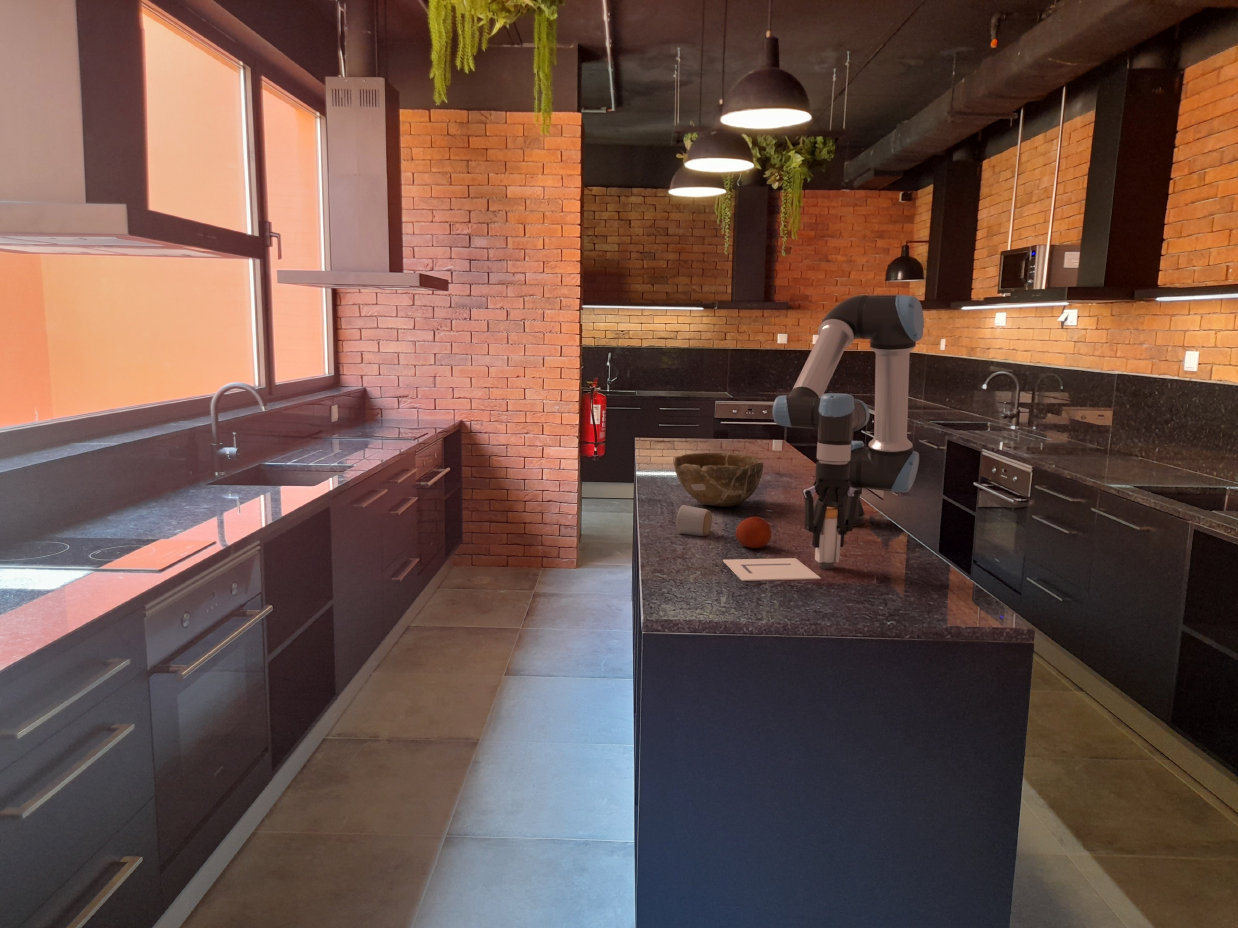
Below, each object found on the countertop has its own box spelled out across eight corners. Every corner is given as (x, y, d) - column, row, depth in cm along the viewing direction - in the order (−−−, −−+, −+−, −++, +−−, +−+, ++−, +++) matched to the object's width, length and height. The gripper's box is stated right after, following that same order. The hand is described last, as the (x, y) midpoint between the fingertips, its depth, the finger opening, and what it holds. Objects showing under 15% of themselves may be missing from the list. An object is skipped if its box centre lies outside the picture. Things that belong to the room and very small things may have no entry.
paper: (795, 559, 203) (795, 557, 203) (820, 579, 187) (820, 577, 187) (722, 560, 200) (722, 559, 200) (742, 580, 185) (742, 579, 185)
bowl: (699, 518, 244) (701, 467, 242) (658, 500, 269) (659, 453, 266) (779, 512, 255) (782, 463, 253) (733, 495, 280) (735, 450, 277)
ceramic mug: (705, 539, 220) (706, 510, 219) (675, 535, 223) (676, 507, 222) (715, 531, 230) (716, 503, 229) (686, 528, 233) (687, 500, 232)
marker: (830, 564, 199) (834, 506, 197) (836, 569, 195) (840, 510, 193) (816, 565, 198) (820, 507, 196) (822, 569, 195) (825, 510, 193)
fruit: (748, 540, 220) (750, 510, 219) (777, 547, 214) (778, 516, 212) (727, 546, 214) (728, 515, 212) (756, 553, 207) (757, 522, 206)
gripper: (860, 458, 198) (853, 555, 201) (792, 458, 195) (787, 557, 199) (874, 464, 190) (867, 564, 194) (804, 464, 188) (798, 566, 192)
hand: (826, 560), depth 197 cm, fingers closed on marker, 3 cm apart
